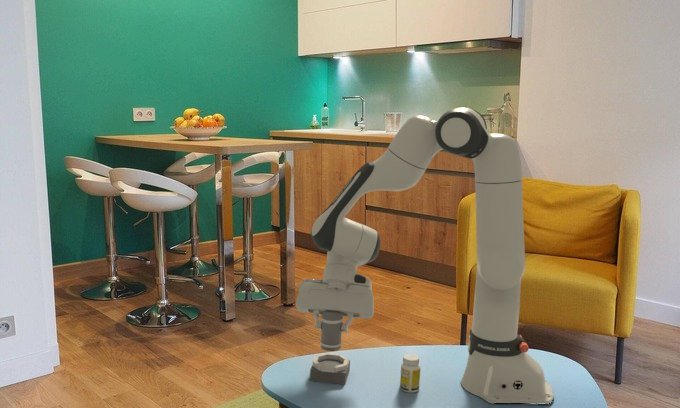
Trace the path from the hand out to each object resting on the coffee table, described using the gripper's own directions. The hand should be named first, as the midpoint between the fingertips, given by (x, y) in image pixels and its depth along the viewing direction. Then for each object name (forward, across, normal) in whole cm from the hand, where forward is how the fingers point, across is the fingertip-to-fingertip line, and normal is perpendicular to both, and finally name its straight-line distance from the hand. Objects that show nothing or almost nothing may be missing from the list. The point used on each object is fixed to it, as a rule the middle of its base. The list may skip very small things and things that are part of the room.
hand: (331, 329), depth 160 cm
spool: (+3, 0, +4) cm, 5 cm away
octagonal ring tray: (+8, 0, +9) cm, 13 cm away
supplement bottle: (+10, +21, +8) cm, 24 cm away
